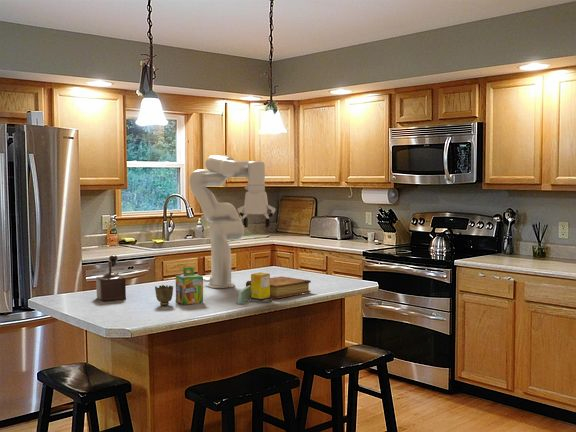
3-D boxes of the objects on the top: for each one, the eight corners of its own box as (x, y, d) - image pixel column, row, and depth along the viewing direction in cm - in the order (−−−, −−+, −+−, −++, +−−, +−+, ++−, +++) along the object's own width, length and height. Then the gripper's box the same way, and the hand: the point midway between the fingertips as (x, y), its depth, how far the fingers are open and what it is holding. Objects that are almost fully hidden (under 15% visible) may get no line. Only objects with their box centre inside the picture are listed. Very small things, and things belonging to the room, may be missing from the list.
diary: (280, 288, 305) (280, 276, 305) (310, 293, 292) (310, 280, 292) (245, 293, 288) (246, 280, 287) (276, 298, 275) (276, 285, 275)
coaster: (248, 302, 271) (248, 300, 270) (253, 298, 279) (253, 296, 279) (269, 302, 269) (269, 301, 269) (273, 298, 278) (273, 297, 278)
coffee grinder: (128, 299, 278) (127, 258, 277) (102, 302, 272) (101, 259, 271) (117, 293, 291) (116, 254, 290) (92, 296, 286) (91, 256, 284)
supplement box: (260, 297, 278) (260, 272, 278) (270, 298, 274) (270, 273, 274) (250, 299, 274) (250, 273, 273) (260, 300, 270) (260, 275, 269)
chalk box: (183, 305, 264) (183, 270, 263) (174, 301, 272) (174, 267, 271) (204, 303, 269) (203, 268, 268) (194, 299, 277) (194, 265, 276)
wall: (236, 304, 267) (236, 292, 267) (246, 296, 284) (246, 285, 283) (243, 304, 266) (243, 292, 266) (253, 296, 283) (253, 285, 283)
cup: (165, 302, 270) (165, 284, 269) (177, 305, 265) (177, 286, 264) (151, 305, 264) (151, 286, 263) (163, 308, 259) (162, 288, 259)
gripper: (235, 189, 283) (235, 227, 284) (273, 189, 279) (273, 228, 281) (239, 188, 290) (240, 226, 291) (277, 188, 287) (277, 227, 288)
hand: (256, 227), depth 286 cm, fingers open, 9 cm apart
